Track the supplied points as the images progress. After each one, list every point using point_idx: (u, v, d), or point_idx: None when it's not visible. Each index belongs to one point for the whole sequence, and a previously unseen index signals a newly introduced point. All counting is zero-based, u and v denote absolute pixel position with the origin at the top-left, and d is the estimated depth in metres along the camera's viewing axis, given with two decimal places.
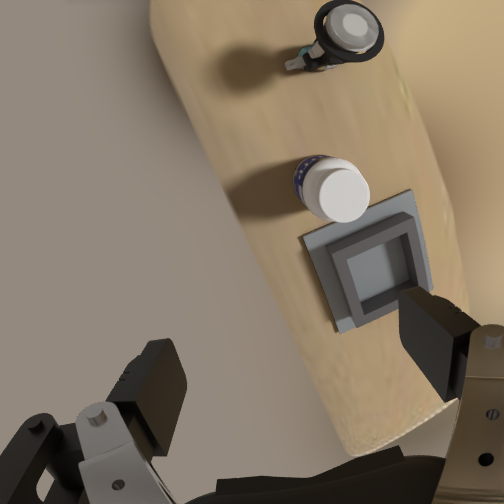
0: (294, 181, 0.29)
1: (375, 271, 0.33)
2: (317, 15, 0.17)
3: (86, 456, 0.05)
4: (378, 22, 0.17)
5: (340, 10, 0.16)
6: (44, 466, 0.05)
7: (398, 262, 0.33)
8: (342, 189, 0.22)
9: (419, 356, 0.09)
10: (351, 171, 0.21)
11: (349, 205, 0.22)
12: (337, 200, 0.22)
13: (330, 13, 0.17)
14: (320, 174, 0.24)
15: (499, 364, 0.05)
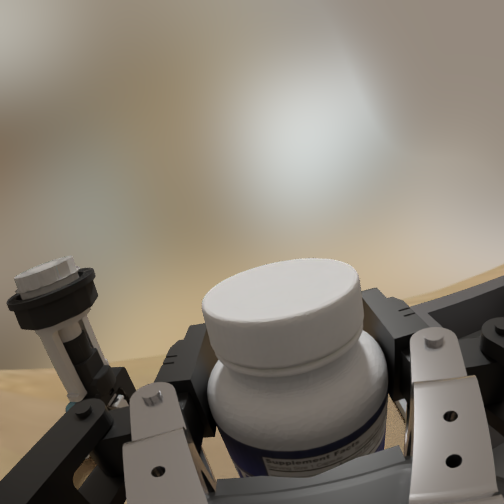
0: None
1: None
2: (7, 302, 0.12)
3: (133, 436, 0.05)
4: None
5: (21, 274, 0.13)
6: (86, 455, 0.05)
7: None
8: (256, 288, 0.08)
9: None
10: (223, 282, 0.09)
11: (307, 276, 0.08)
12: (282, 292, 0.07)
13: (18, 291, 0.13)
14: (226, 381, 0.08)
15: (445, 366, 0.05)
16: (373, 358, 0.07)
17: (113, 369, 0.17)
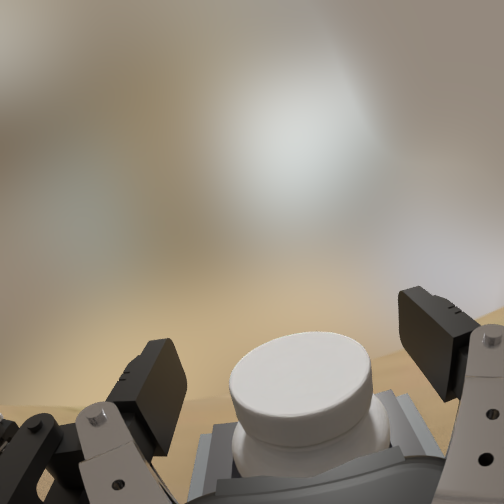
0: None
1: None
2: None
3: (85, 455, 0.05)
4: None
5: None
6: (44, 466, 0.05)
7: None
8: (278, 371, 0.08)
9: (419, 356, 0.09)
10: (245, 357, 0.09)
11: (324, 359, 0.08)
12: (303, 381, 0.08)
13: None
14: (251, 445, 0.08)
15: (498, 364, 0.05)
16: (378, 423, 0.08)
17: (6, 422, 0.16)
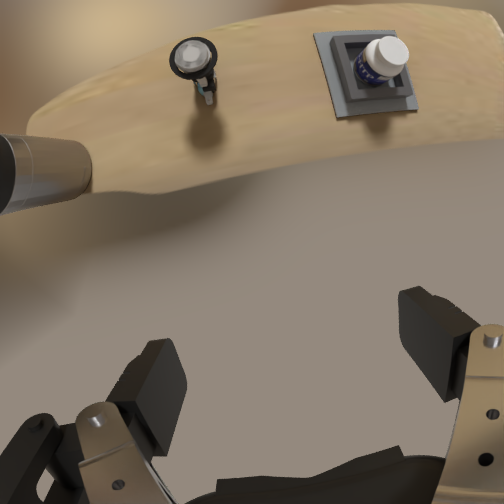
0: (371, 83, 0.36)
1: None
2: (180, 76, 0.30)
3: (85, 456, 0.05)
4: (188, 39, 0.29)
5: (179, 61, 0.29)
6: (44, 466, 0.05)
7: None
8: (390, 50, 0.28)
9: (419, 356, 0.09)
10: (380, 42, 0.28)
11: (399, 49, 0.28)
12: (396, 54, 0.28)
13: (180, 68, 0.30)
14: (376, 61, 0.30)
15: (498, 364, 0.05)
16: None
17: None
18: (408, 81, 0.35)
